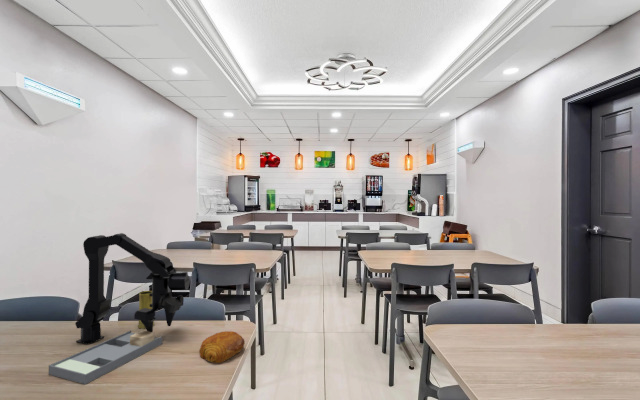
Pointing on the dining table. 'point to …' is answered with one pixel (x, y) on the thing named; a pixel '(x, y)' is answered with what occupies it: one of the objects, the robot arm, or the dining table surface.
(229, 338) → the croissant
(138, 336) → the beech block
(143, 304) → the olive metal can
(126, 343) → the box
